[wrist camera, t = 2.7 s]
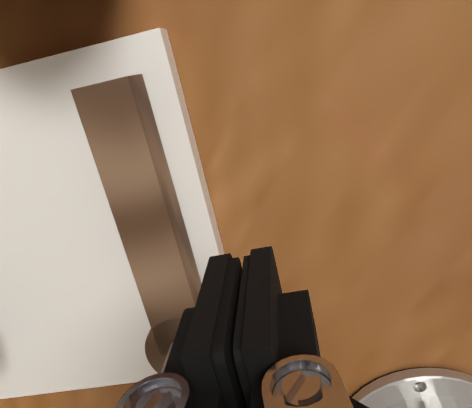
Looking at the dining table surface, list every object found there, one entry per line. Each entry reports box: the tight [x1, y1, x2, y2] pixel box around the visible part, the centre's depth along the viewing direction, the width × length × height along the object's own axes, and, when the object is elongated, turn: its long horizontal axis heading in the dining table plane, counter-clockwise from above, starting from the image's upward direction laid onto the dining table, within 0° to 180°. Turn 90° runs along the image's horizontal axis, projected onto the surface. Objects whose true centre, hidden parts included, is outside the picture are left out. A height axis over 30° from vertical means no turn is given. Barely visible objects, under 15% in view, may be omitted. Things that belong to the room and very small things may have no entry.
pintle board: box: [0, 28, 224, 399], centre depth 28 cm, size 22×22×2 cm
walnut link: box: [71, 74, 202, 373], centre depth 23 cm, size 18×5×5 cm, turn 13°
